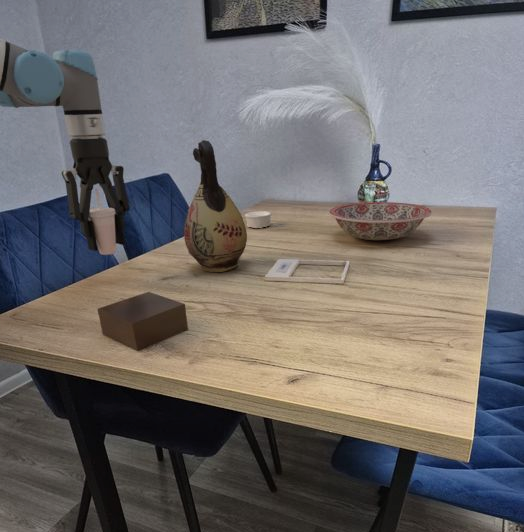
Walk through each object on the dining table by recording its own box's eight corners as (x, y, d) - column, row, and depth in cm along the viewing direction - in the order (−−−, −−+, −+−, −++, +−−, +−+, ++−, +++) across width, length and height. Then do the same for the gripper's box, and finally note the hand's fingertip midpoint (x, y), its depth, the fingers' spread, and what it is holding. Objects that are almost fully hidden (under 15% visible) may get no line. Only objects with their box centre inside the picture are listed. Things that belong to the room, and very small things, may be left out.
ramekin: (245, 229, 158) (244, 216, 156) (246, 224, 166) (245, 211, 164) (271, 228, 158) (271, 215, 156) (271, 223, 166) (270, 210, 164)
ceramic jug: (184, 262, 125) (170, 139, 112) (241, 256, 128) (234, 136, 115) (192, 281, 111) (177, 142, 97) (256, 274, 114) (249, 138, 100)
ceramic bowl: (335, 226, 157) (336, 201, 153) (427, 228, 150) (430, 202, 146) (321, 249, 132) (321, 220, 129) (430, 252, 125) (434, 221, 121)
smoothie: (121, 247, 113) (111, 187, 107) (123, 254, 108) (112, 190, 102) (93, 251, 112) (81, 189, 105) (93, 257, 106) (81, 193, 100)
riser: (102, 334, 86) (97, 308, 83) (152, 315, 93) (148, 291, 90) (137, 350, 79) (132, 323, 77) (188, 329, 86) (185, 303, 84)
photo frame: (278, 258, 121) (349, 260, 117) (279, 262, 121) (349, 264, 117) (264, 275, 108) (343, 278, 104) (265, 280, 109) (343, 283, 105)
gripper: (51, 140, 90) (76, 258, 101) (136, 135, 103) (150, 240, 113) (34, 140, 95) (59, 252, 105) (117, 135, 108) (133, 236, 118)
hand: (106, 246), depth 109 cm, fingers closed on smoothie, 6 cm apart
